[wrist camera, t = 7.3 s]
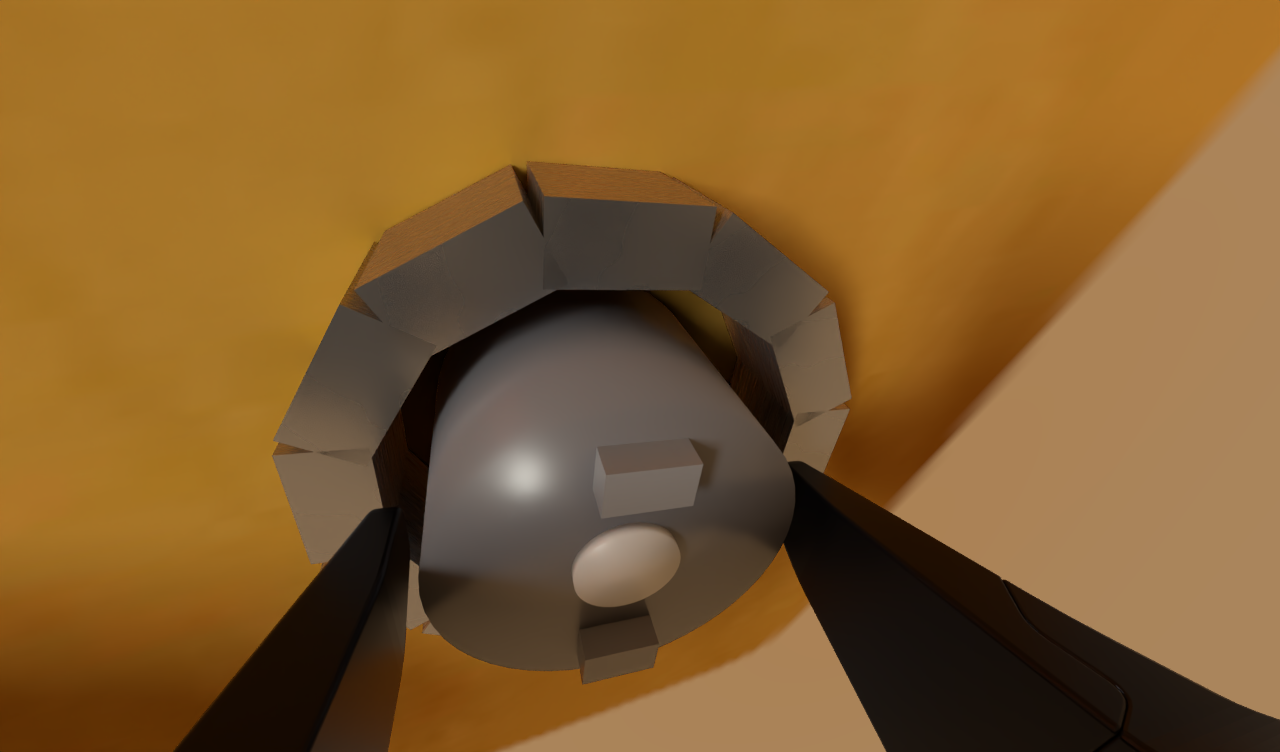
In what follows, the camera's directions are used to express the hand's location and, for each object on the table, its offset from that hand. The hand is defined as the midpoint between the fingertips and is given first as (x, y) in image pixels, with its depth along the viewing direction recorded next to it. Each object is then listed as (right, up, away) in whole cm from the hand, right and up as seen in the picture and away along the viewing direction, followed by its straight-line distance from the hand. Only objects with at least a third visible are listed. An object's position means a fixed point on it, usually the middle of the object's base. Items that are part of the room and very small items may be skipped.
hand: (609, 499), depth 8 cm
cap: (-1, +2, +2) cm, 3 cm away
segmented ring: (-1, +2, +2) cm, 3 cm away
